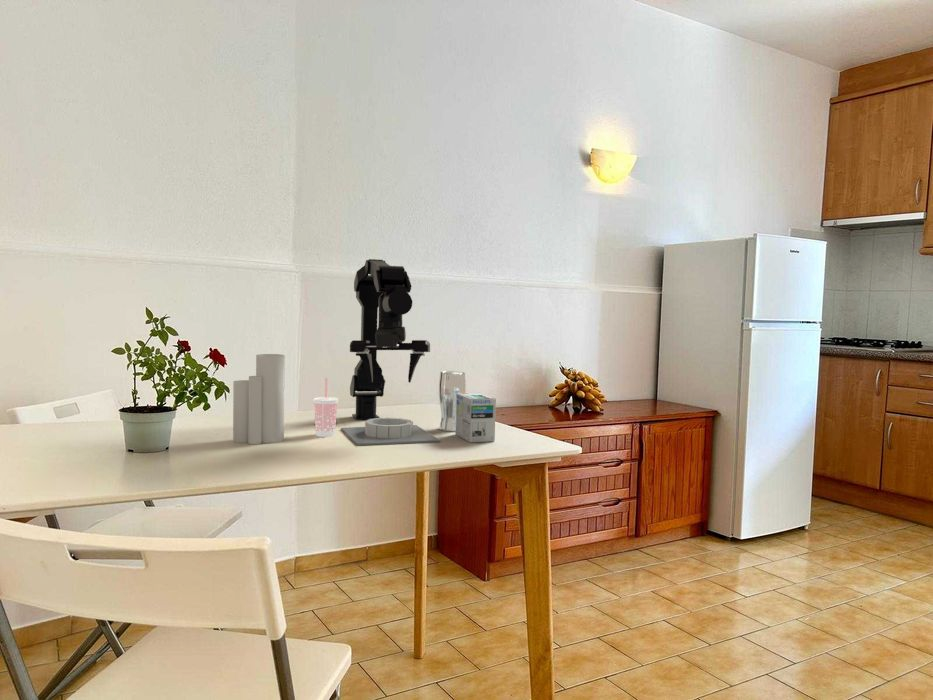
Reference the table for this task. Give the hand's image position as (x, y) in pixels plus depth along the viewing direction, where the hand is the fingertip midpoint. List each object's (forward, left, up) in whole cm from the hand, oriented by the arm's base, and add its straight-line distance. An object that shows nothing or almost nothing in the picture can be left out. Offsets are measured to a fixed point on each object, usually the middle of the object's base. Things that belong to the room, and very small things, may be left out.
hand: (390, 382), depth 176 cm
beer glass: (-9, +19, -14) cm, 25 cm away
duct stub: (-4, +1, -14) cm, 14 cm away
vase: (-4, -30, -14) cm, 33 cm away
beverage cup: (-8, -14, -14) cm, 21 cm away
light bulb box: (+3, +21, -14) cm, 25 cm away
